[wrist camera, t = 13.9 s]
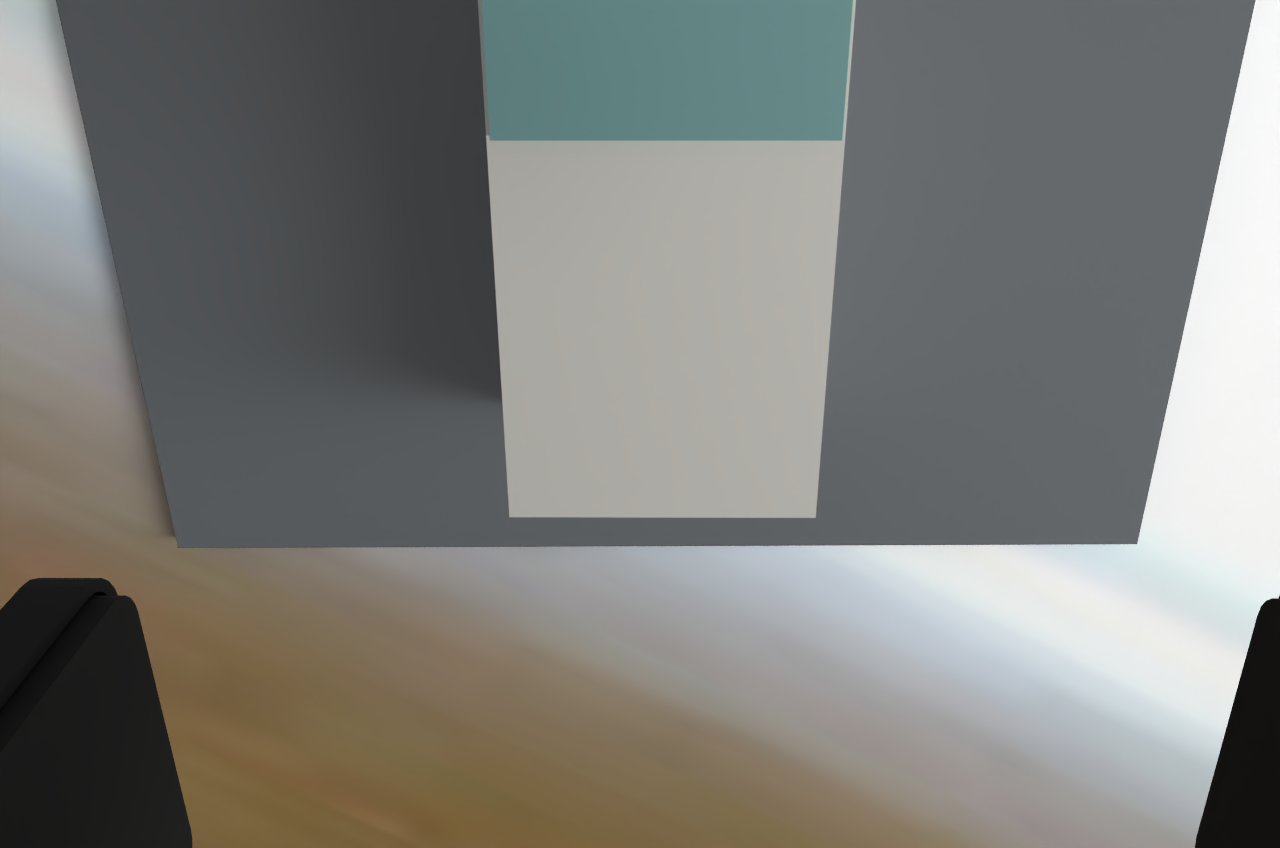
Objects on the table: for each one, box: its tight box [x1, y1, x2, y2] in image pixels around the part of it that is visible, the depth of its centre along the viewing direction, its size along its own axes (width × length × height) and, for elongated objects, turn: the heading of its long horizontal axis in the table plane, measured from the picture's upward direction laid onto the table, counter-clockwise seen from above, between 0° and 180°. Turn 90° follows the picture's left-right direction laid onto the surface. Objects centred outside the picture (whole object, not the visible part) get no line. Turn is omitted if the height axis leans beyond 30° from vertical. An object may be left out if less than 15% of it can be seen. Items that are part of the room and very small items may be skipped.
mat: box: [56, 0, 1255, 548], centre depth 25 cm, size 24×18×1 cm
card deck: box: [478, 0, 856, 518], centre depth 22 cm, size 10×6×5 cm, turn 0°
